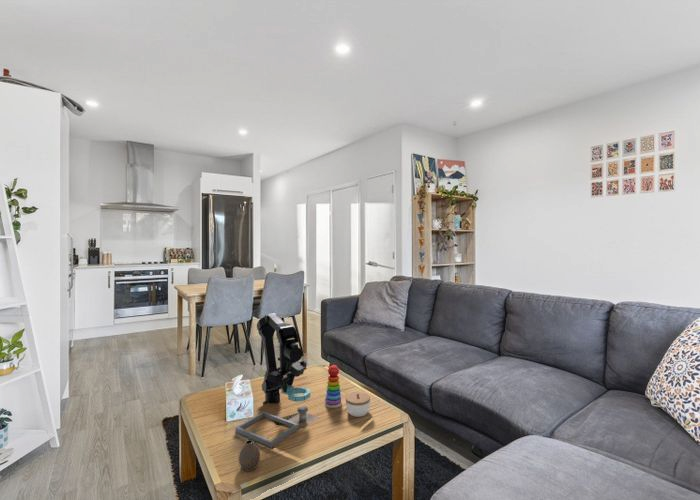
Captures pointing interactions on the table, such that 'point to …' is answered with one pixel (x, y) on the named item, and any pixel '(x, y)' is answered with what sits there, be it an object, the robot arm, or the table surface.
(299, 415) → the ring
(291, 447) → the table surface
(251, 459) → the vase
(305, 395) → the ring
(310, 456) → the table surface
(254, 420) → the tray
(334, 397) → the stacking toy
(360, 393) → the lidded jar
